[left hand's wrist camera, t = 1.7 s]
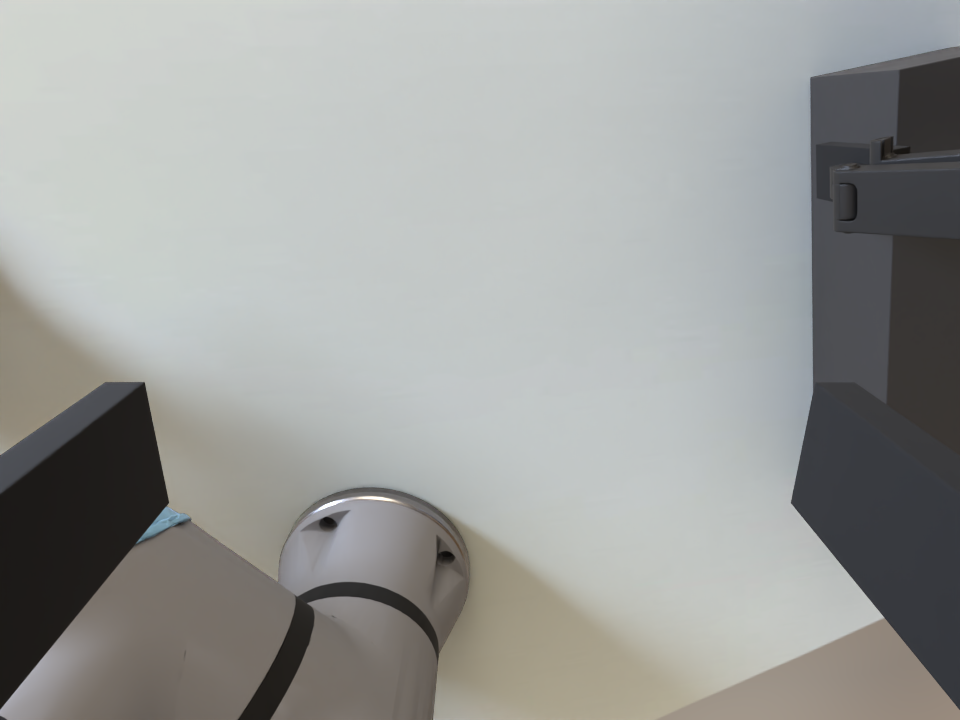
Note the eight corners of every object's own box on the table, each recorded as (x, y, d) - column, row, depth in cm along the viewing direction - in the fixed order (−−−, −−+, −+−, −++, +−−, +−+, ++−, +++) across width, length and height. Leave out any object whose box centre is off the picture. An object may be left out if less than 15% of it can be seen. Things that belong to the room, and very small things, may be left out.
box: (923, 470, 48) (1013, 548, 40) (813, 487, 49) (880, 566, 40) (950, 47, 37) (1082, 30, 29) (810, 77, 38) (899, 69, 30)
